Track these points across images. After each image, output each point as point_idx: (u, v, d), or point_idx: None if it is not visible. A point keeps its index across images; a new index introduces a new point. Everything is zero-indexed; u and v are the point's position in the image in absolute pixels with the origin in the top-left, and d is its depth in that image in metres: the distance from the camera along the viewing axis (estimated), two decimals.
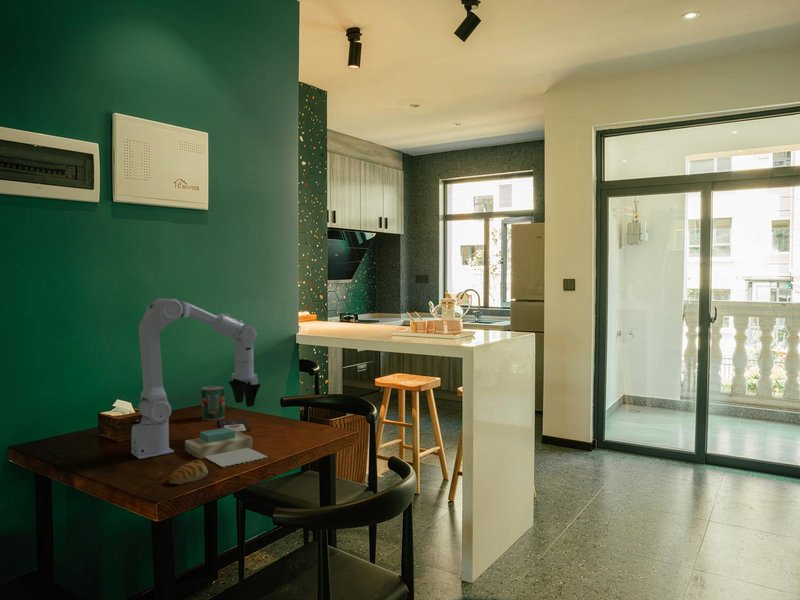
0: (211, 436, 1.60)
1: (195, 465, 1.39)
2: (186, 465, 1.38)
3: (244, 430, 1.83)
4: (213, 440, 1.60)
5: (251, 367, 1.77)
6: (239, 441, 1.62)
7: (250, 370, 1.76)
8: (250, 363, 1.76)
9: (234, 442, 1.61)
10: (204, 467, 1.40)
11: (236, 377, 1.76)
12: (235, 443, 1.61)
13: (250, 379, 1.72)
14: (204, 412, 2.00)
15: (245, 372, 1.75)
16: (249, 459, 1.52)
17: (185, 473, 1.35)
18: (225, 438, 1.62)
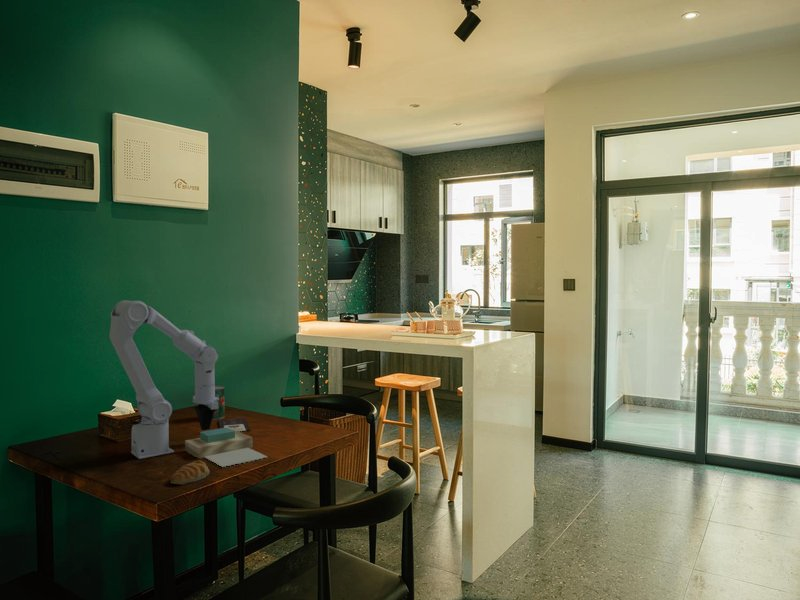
0: (211, 436, 1.60)
1: (197, 465, 1.39)
2: (188, 465, 1.38)
3: (244, 430, 1.83)
4: (213, 440, 1.60)
5: (212, 391, 1.69)
6: (239, 441, 1.62)
7: (210, 394, 1.69)
8: (210, 386, 1.69)
9: (234, 442, 1.61)
10: (206, 467, 1.40)
11: (196, 401, 1.68)
12: (235, 443, 1.61)
13: (210, 404, 1.65)
14: None
15: (205, 396, 1.68)
16: (249, 459, 1.52)
17: (187, 473, 1.35)
18: (225, 438, 1.62)
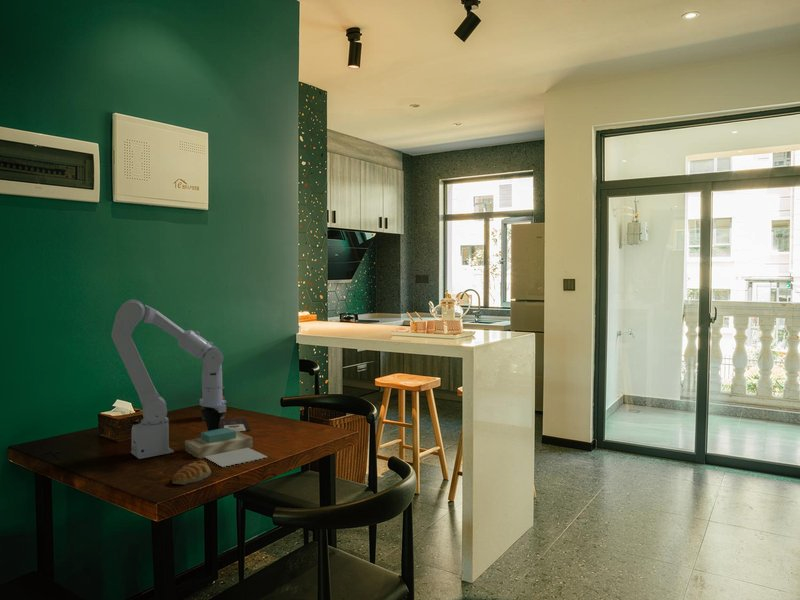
0: (212, 436, 1.59)
1: (198, 465, 1.39)
2: (189, 465, 1.38)
3: (244, 430, 1.83)
4: (214, 440, 1.60)
5: (219, 393, 1.65)
6: (239, 441, 1.62)
7: (218, 397, 1.65)
8: (218, 389, 1.65)
9: (234, 442, 1.61)
10: (207, 467, 1.40)
11: (203, 404, 1.64)
12: (235, 443, 1.61)
13: (218, 407, 1.61)
14: None
15: (213, 399, 1.64)
16: (249, 459, 1.52)
17: (188, 473, 1.35)
18: (226, 438, 1.62)
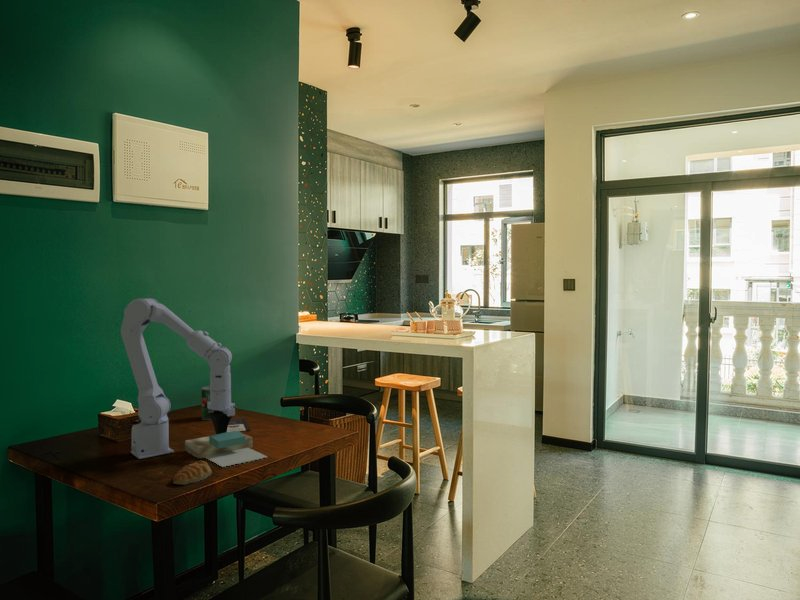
0: (221, 441, 1.55)
1: (199, 465, 1.39)
2: (190, 465, 1.38)
3: (244, 430, 1.83)
4: (223, 446, 1.56)
5: (228, 396, 1.61)
6: None
7: (226, 400, 1.60)
8: (227, 392, 1.60)
9: None
10: (208, 467, 1.40)
11: (211, 407, 1.60)
12: None
13: (226, 410, 1.57)
14: (204, 412, 2.00)
15: (221, 402, 1.59)
16: (249, 459, 1.52)
17: (189, 473, 1.35)
18: (235, 443, 1.58)
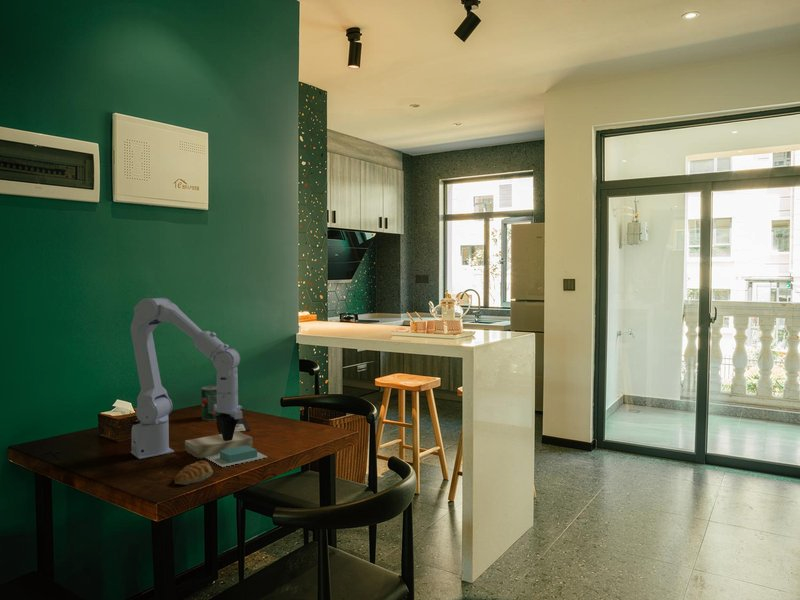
0: None
1: (200, 465, 1.39)
2: (191, 465, 1.38)
3: (244, 430, 1.83)
4: None
5: (235, 399, 1.57)
6: (239, 441, 1.62)
7: (233, 402, 1.57)
8: (234, 394, 1.57)
9: (234, 442, 1.61)
10: (209, 467, 1.40)
11: (218, 410, 1.56)
12: (235, 443, 1.61)
13: (233, 413, 1.53)
14: (204, 412, 2.00)
15: (228, 404, 1.56)
16: (249, 459, 1.52)
17: (191, 473, 1.35)
18: None
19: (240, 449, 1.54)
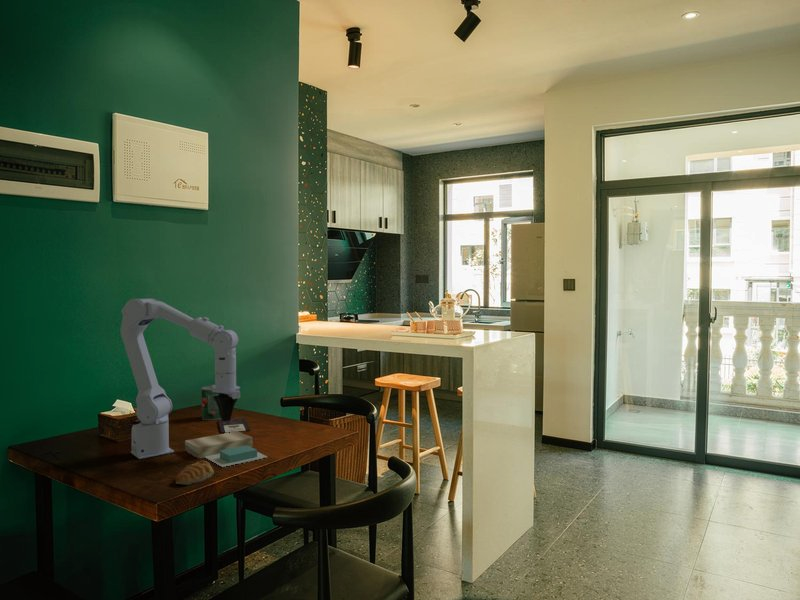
0: None
1: (201, 465, 1.39)
2: (192, 465, 1.38)
3: (243, 430, 1.83)
4: None
5: (233, 379, 1.58)
6: (239, 441, 1.62)
7: (231, 383, 1.57)
8: (232, 374, 1.57)
9: (234, 442, 1.61)
10: (210, 467, 1.40)
11: (216, 390, 1.57)
12: (235, 443, 1.61)
13: (231, 393, 1.54)
14: (204, 412, 2.00)
15: (226, 385, 1.56)
16: (249, 459, 1.52)
17: (192, 473, 1.35)
18: None
19: (240, 449, 1.54)
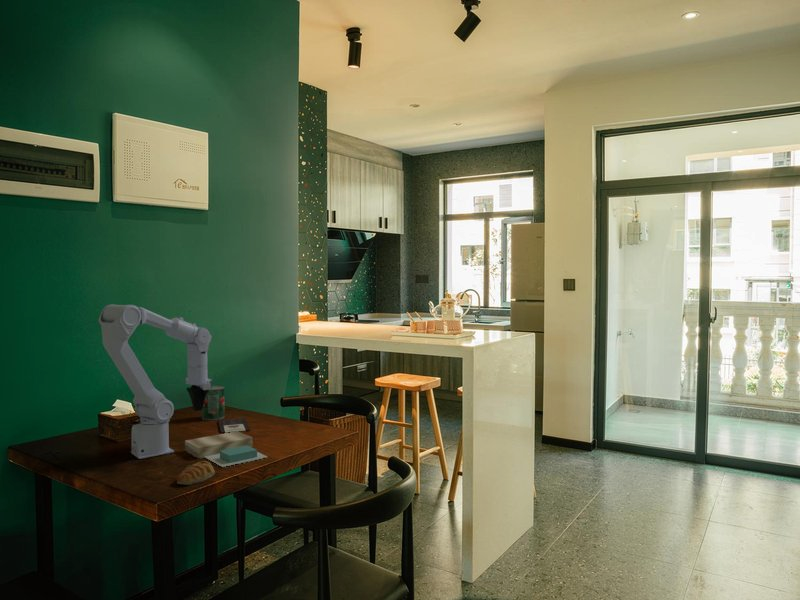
0: None
1: (202, 465, 1.39)
2: (193, 466, 1.38)
3: (243, 430, 1.83)
4: None
5: (204, 372, 1.71)
6: (239, 441, 1.62)
7: (203, 375, 1.70)
8: (203, 368, 1.71)
9: (234, 442, 1.61)
10: (211, 467, 1.40)
11: (188, 382, 1.70)
12: (235, 443, 1.61)
13: (202, 384, 1.67)
14: (204, 412, 2.00)
15: (198, 377, 1.69)
16: (249, 459, 1.52)
17: (193, 473, 1.35)
18: None
19: (240, 449, 1.54)
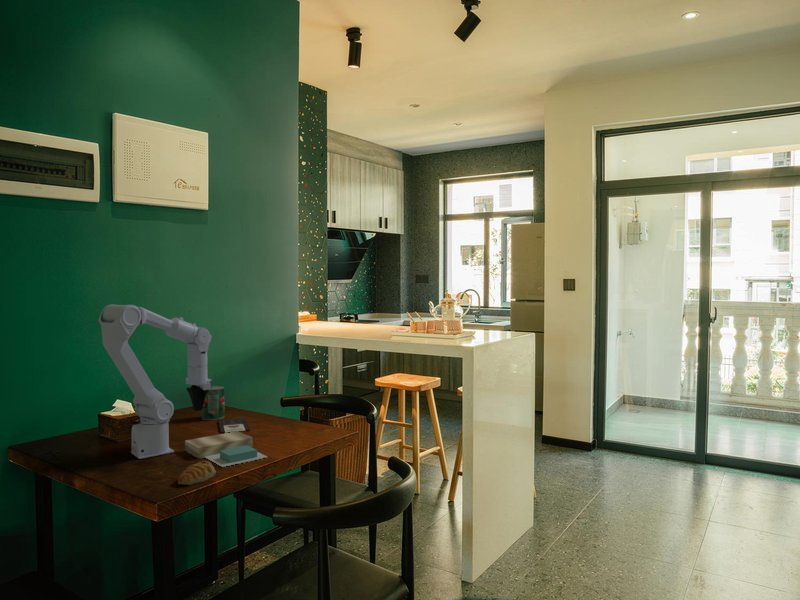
0: None
1: (203, 465, 1.39)
2: (194, 466, 1.38)
3: (243, 430, 1.83)
4: None
5: (204, 372, 1.71)
6: (239, 441, 1.62)
7: (203, 375, 1.70)
8: (203, 368, 1.71)
9: (234, 442, 1.61)
10: (212, 467, 1.40)
11: (188, 382, 1.70)
12: (235, 443, 1.61)
13: (202, 384, 1.67)
14: (204, 412, 2.00)
15: (198, 377, 1.69)
16: (249, 459, 1.52)
17: (194, 473, 1.35)
18: None
19: (240, 449, 1.54)
